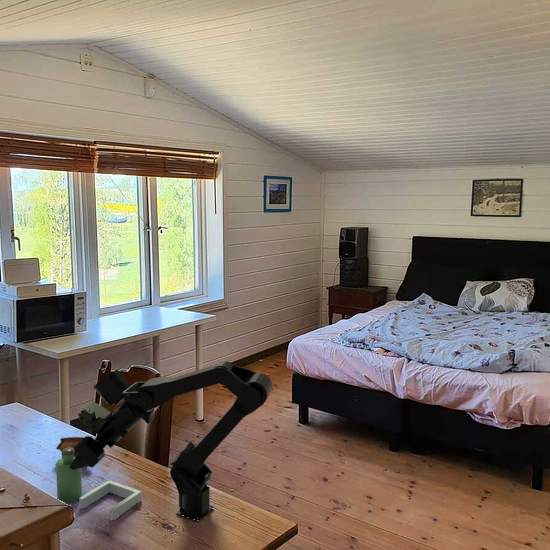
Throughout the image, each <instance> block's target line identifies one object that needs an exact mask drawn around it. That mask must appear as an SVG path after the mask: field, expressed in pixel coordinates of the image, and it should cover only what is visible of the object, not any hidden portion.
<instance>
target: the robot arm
mask: <svg viewBox="0 0 550 550" xmlns="http://www.w3.org/2000/svg"><path fill="white" fill-rule="evenodd" d="M217 384H219V385H222V386H224V387H225V388H226V389H227V390H228V391H229V392H230V393H231V394H232V395H234V396H236V399H235V400H234V402H233V404H232V405H231V406H230V408H228V409H227V411H226V412H225V413H224V414H223V415H222V416H221V417H220V419H219V420H217V422H216V423H214V425H213V426H212V427H211V429H209V431H208V432H207V433H206V434H205V436H203V438H202V439H200V441H199V442H197V443H195V444H194V443H193V442H192V441H191V440H190V441H189V442H188V443H187V444H186V446H185V447H184V448H183V449H182V450H180V451H179V453H178V455H176V457H175V458H174V459H173V461H172V462H171V463H170V464H171V468H170V471H169V473H170V478H171V480H172V482H174V484H175V487H176V490H177V493H178V507H179V508H178V509H177V510H176V511H175V514H176V513H177V514H180V515H184V516H186V517H189V518H192V519H195V520H199V519H200V518H202V517H203V516H204V515H205V514H206V513H208V512H209V511H210V510H211V509H212V508H213V509H214V505H212V504H210V503H211V502H210V501H211V500H210V497H211V496H210V494H211V492H210V490H211V489H210V488H211V487H210V486H208V484H207V483H208V482H209V480H210V479H211V478H212V477H211V476H212V474H213V471H212V470H211V469H210V468H209V466H208V465H207V464H206V461H207V460H208V458H209V456H211V454H212V453H213V452H214V451H215V450H216V449H217V448H218V447H219V445H220V444H222V442H224V440H225V439H226V437H228V436H229V435H230V433H231V432H232V431H233V430H234V429H235V428H236V427H237V426H238V425H239V423H241V421H243V419H244V418H246V417H247V416H248V415H251V414H253V413H254V412H255V411H256V410H258V409H259V408H260V407H262V406H263V405H264V404H265V403H266V402H267V399H268V398H269V396H270V394H271V392H272V391H273V389H274V388H273V382H272V379H271V378H270V377H269V376H268V375H267V374H265V373H258V372H256V371H253V370H252V369H250V368H246V367H244V366H239V365H236V364H234V363H232V362H230V361H227V360H224V361H221V362H219V363H218V364H217V363H215V364H214V365H210V366H208V367H204V368H201V369H197V370H194V371H191V372H188V373H187V372H186V373H184V374H181V375H179V376H172V377H171V376H161V377H160V376H159V377H153V378H150V379H148V380H147V381H136V382H134V383H132V385H131V384H130V383H129V382H128V381H127V379H126V378H125V377H124V376H123V375H122V373H121V372H120V370H118V368H115V369H114V370H112V371H111V372H110V373H109V374H107V375H106V376H105V377H103V378H102V379H101V380H99V381H98V382H97V383H96V384H95V385H93V389H94V390H95V391H96V392H97V393H98V395H99V396H100V397H101V399H103V400H104V401H105V402H106V403H107V404H108V406H110V407H112V406H113V405H115V406H117V405H119V404H120V403H121V402H122V401H123V400H124V401H123V403H122V404H121V405H120V406H118V407H117V408H116V409H113V410H112V411H110V410H108V409H107V407H104V406H102V405H101V404H99V403H96V402H95V401H89V402H87V404H85V405H84V406H83V407H82V410H80V412H79V413H78V420H79V422H80V423H82V424H84V425H85V426H90V427H94V428H93V429H92V430H91V431H92V432H93V433H94V434H95V435H96V434H97V435H96V437H95V438H93V437H92V436H90V435H88V436H87V435H86V436H84V437H85V438H83V439H82V440H81V441H80V442H79V443H78V444H77V445H76V446H75V447H74V451H75V452H76V453H77V455H76V457H75V458H74V460H73V462H72V463H71V465H70V468H71V469H72V470H74V469H78V468H81V469H82V468H87V467H89V468H94V467H95V466H96V465H97V464H99V463H100V461H101V460H102V459H103V458H105V454H106V452H105V450H104V449H105V448H106V447H107V446H108V448H110V449H111V448H112V447H114V446H115V444H116V443H118V441H120V440H121V439H122V438H124V437H125V436H126V435H127V434H128V433H129V431H130V430H132V429H133V428H134V427H135V426H136V425H137V424H138V423H139V422H140V421H142V420H143V421H144V422H145V423H146V424H147V425H148V424H150V423H152V421H153V420H154V419H155V417H156V415H155V409H156V408H157V407H159V406H161V405H163V404H165V403H167V402H169V401H170V400H172V399H174V398H176V397H178V396H182V395H184V394H188V393H191V392H194V391H199V390H201V389H205V388H208V387H212V386H215V385H217ZM213 509H212V510H213ZM212 510H211V511H212ZM211 511H210V512H211ZM210 512H209V513H210ZM209 513H208V514H209ZM177 514H176V515H177ZM180 515H179V516H180ZM205 516H206V515H205ZM205 516H204V517H205ZM186 517H185V518H186ZM204 517H203V518H204ZM189 518H188V519H189ZM197 518H198V519H197ZM203 518H202V519H203Z"/></svg>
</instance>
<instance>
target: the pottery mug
mask: <svg viewBox="0 0 550 550" xmlns="http://www.w3.org/2000/svg"><path fill="white" fill-rule="evenodd" d="M85 437H86V436H71V437H69V436H67V437H62V438H60V440H59V441H60V442H59V443H58V445H57V447H56V450H58V451H60V452H61V453H62V450H63V449H64V448H69V447H71V448H74V447H75V446H76V445H77V444H78V443H79V442H80V441H81V440H82V439H83V438H85ZM76 455H77V453H76V452H74V457H76ZM61 459H63V455H62V454H61ZM59 460H60V459H58V460H57V461H59Z"/></svg>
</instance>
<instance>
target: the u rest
mask: <svg viewBox="0 0 550 550" xmlns="http://www.w3.org/2000/svg"><path fill="white" fill-rule="evenodd" d="M109 493H110V494H112V493H113V495H115V494H116V495H115V496H119V497H121V498H124V499H123V500H122V501H120V502H119V503H117V504H115V505H114V506H113V507H111V508H110V509H109V520H110V519H112V520H114V519H115V518H117V517H118V516H120V515H121V514H122V515H124V514H125V513H126V512H125V511H127V510H128V509H129V510H131V509H132V508H133V507H132V506H134V505H135V504H136V503H138V502H139V503H141V502H142V501H143V500H142V491H141V490H139V489H135V488H133V487H130V486H127V485H125V484H121V483H118V482H116V481H113V480H107V481H105V482H103V483H102V484H100V485H99V486H97V487H95V488H94V489H92V490H89V492H87V493H86V494H84V495H82V497H80V498H79V500H78V501H79V509H81V508H82V509H81V510H83V508H84V509H85V508H87V507H88V505H89V506H91V504H94V503H95V502H96V501H98V500H99V499H101V498H102V497H104V496H106V495H107V494H109ZM141 500H142V501H141ZM140 501H141V502H140ZM139 503H138V504H139ZM135 506H136V505H135ZM135 506H134V507H135ZM131 507H132V508H131ZM130 508H131V509H130ZM129 510H128V511H129ZM128 511H127V512H128ZM124 512H125V513H124ZM123 513H124V514H123ZM122 515H121V516H122ZM121 516H120V517H121ZM118 518H119V517H118ZM118 518H117V519H118ZM112 520H111V521H112ZM115 520H116V519H115ZM115 520H114V521H115Z"/></svg>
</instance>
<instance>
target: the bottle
mask: <svg viewBox="0 0 550 550" xmlns="http://www.w3.org/2000/svg"><path fill="white" fill-rule="evenodd" d="M74 452H75V451H74V448H71V447H69V448H64V449H63V450H62V452H61V456H62V455H63V459H62V458H61V459H58V460H59V461H58V460H56V463H55V470H56V491H57V494H56V496H57V500H58V499H59V500H61V501H63V502H65V503H64V504H72V503H75V502H77V501H79V498H80V497H82V496H83V486H82V485H83V484H82V483H83V482H82V468H78V469H74V470H72V469H71V468H70V465H71V463H72V462H73V460H74V458H75V457H74Z"/></svg>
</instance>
